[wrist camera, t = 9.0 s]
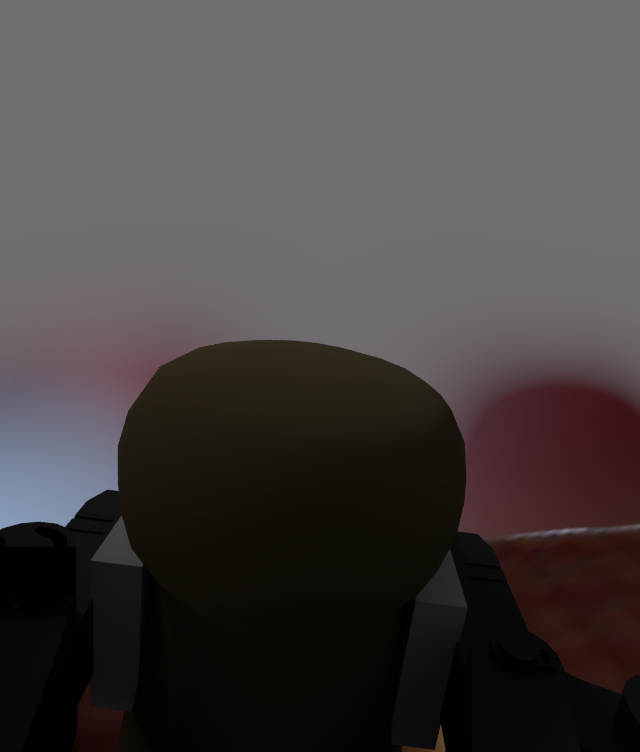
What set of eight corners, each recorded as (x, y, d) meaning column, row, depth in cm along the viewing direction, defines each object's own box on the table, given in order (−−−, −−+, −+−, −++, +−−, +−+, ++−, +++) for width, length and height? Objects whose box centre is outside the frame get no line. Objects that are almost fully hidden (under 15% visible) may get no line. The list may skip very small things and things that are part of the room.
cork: (124, 1216, 8) (151, 482, 5) (63, 805, 13) (55, 309, 10) (460, 965, 11) (619, 416, 8) (306, 711, 16) (363, 311, 13)
